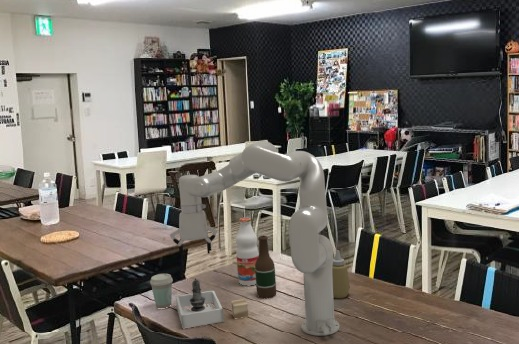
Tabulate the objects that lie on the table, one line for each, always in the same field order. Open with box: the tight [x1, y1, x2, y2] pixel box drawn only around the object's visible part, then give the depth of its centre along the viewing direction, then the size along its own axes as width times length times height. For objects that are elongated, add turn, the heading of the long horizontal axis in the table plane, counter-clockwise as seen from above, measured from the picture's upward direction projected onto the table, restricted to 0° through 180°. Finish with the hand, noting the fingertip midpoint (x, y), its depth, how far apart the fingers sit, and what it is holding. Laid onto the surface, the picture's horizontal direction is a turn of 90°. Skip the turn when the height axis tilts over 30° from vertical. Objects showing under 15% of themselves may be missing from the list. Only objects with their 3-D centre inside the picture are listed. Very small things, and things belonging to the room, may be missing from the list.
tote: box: [175, 289, 225, 328], centre depth 195 cm, size 20×15×5 cm
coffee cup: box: [149, 273, 174, 309], centre depth 205 cm, size 8×8×12 cm
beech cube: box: [230, 298, 249, 319], centre depth 193 cm, size 5×5×5 cm
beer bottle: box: [255, 235, 277, 300], centre depth 209 cm, size 8×8×24 cm
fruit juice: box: [235, 216, 259, 286], centre depth 225 cm, size 9×9×28 cm
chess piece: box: [190, 278, 205, 312], centre depth 199 cm, size 6×6×12 cm
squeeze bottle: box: [332, 249, 351, 299], centre depth 204 cm, size 8×8×18 cm
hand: (195, 254), depth 197 cm, fingers open, 9 cm apart
